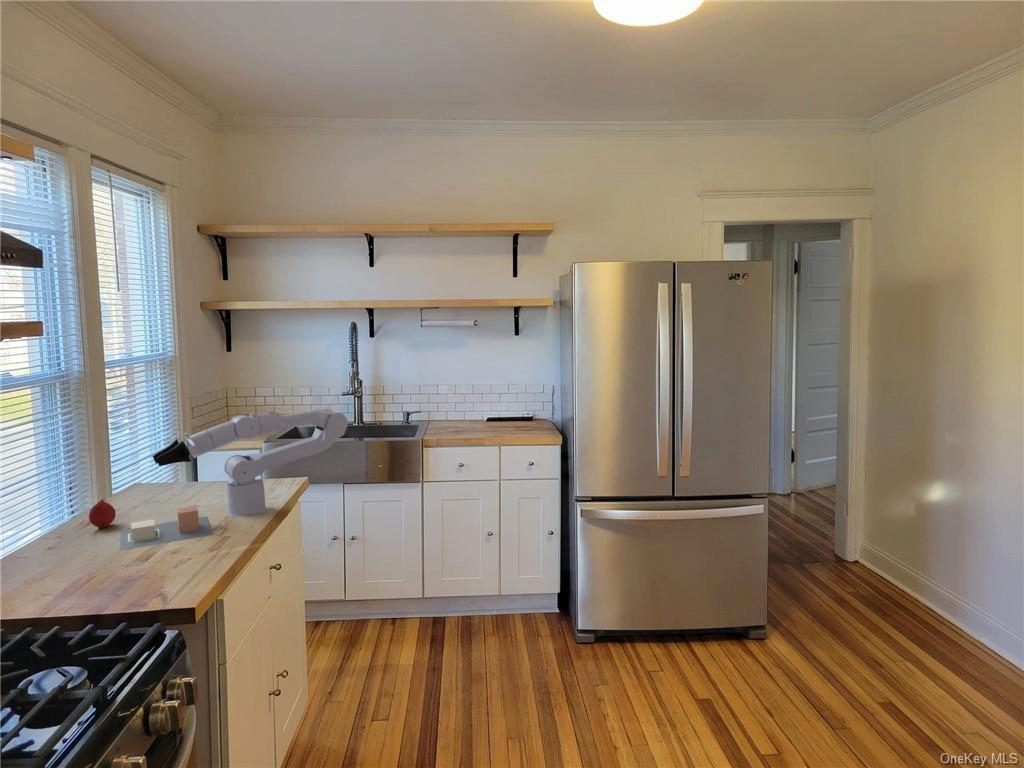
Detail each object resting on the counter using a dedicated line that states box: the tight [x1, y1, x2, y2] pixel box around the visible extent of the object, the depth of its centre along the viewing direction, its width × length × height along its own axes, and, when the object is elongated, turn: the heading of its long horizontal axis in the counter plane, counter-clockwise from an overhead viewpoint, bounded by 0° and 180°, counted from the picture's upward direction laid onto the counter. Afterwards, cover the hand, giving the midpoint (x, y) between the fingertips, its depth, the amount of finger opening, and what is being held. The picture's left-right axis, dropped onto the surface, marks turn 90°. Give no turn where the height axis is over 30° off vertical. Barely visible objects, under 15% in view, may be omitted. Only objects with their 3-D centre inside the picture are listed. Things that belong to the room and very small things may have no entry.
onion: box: [88, 498, 116, 529], centre depth 166 cm, size 6×6×8 cm
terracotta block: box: [176, 505, 199, 533], centre depth 164 cm, size 4×4×5 cm
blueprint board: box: [119, 516, 214, 551], centre depth 162 cm, size 20×16×4 cm
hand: (155, 461), depth 164 cm, fingers open, 7 cm apart
